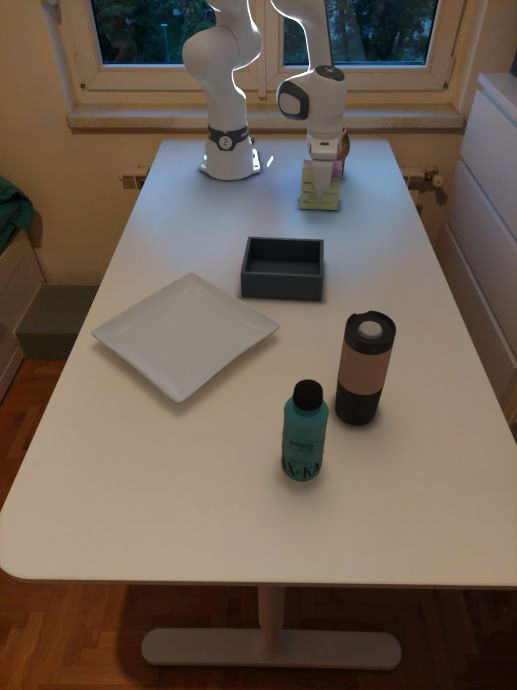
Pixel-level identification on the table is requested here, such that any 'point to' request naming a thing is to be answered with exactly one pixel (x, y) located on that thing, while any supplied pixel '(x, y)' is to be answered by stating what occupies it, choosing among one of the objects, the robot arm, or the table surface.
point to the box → (310, 193)
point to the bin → (283, 269)
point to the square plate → (185, 334)
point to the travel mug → (363, 366)
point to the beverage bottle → (304, 431)
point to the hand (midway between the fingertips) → (320, 189)
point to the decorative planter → (343, 149)
